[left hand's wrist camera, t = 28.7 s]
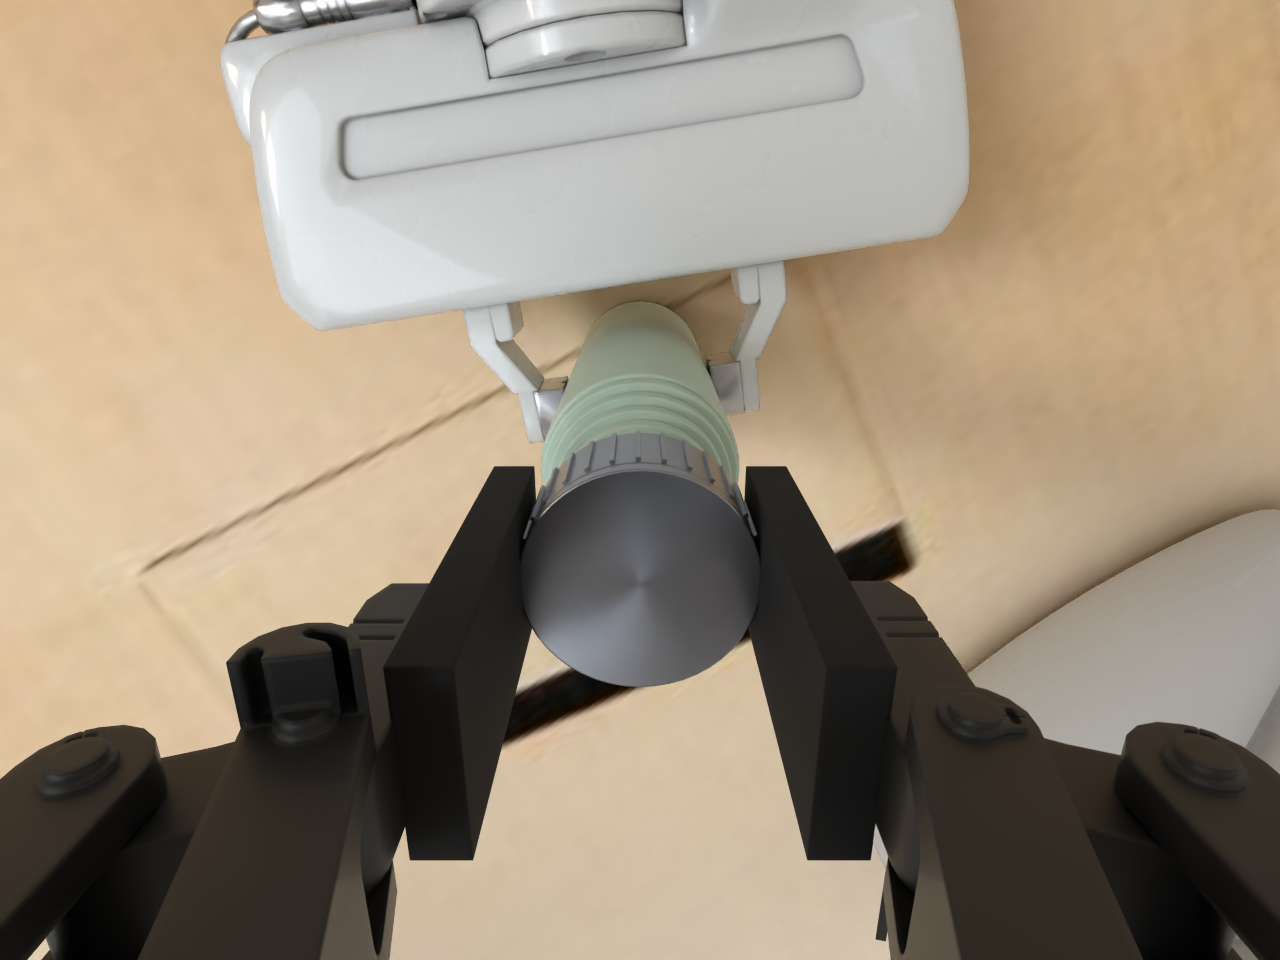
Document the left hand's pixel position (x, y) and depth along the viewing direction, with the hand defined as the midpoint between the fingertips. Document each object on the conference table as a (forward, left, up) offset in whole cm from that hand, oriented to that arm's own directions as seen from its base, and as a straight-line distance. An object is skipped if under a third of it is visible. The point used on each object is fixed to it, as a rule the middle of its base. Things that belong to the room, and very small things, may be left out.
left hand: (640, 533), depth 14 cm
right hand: (-1, 0, -11) cm, 11 cm away
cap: (0, 0, +2) cm, 2 cm away
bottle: (0, 0, -17) cm, 17 cm away
